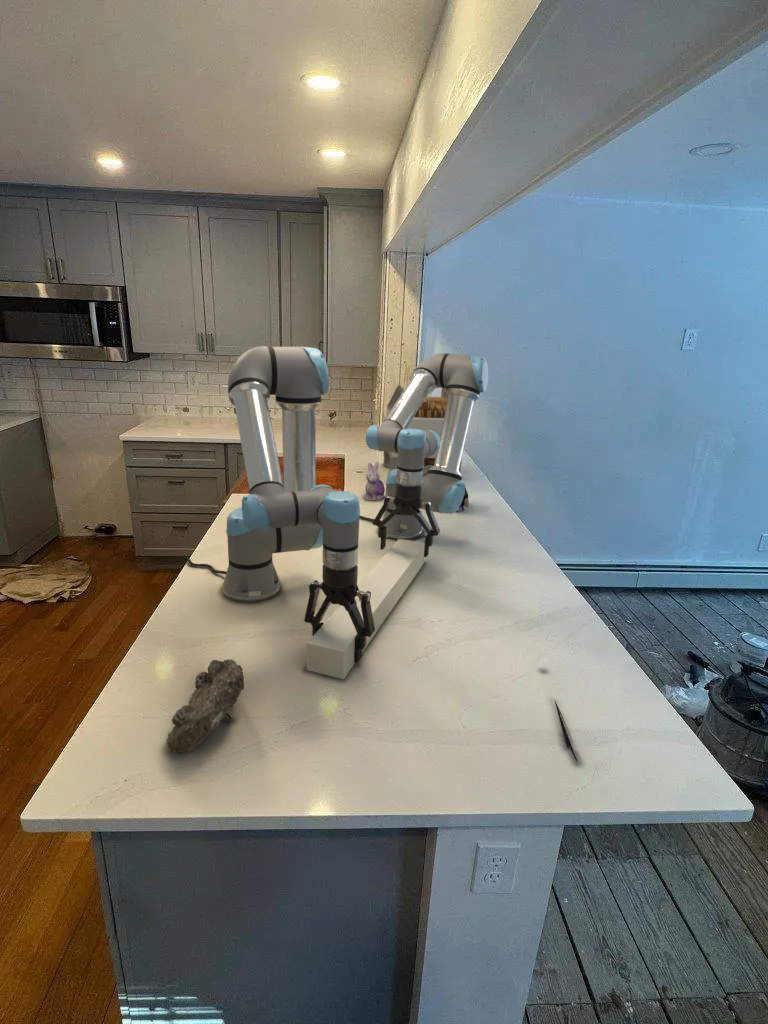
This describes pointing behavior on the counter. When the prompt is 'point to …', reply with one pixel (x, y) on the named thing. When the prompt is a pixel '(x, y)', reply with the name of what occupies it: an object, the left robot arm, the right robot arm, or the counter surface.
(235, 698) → the fossil
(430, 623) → the counter surface
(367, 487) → the figurine
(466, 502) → the figurine character
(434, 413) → the transformer
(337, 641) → the wide beam
